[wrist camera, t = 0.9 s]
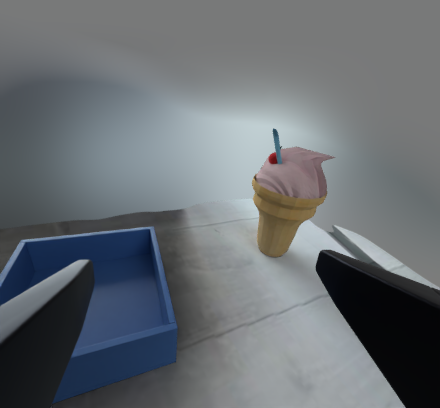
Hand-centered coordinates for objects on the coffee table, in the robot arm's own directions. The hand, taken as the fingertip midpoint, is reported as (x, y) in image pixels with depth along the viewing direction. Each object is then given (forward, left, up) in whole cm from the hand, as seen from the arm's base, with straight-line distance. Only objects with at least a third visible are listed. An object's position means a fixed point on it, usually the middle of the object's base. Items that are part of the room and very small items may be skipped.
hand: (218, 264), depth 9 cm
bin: (+14, +8, -17) cm, 24 cm away
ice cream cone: (+19, -19, -18) cm, 32 cm away
